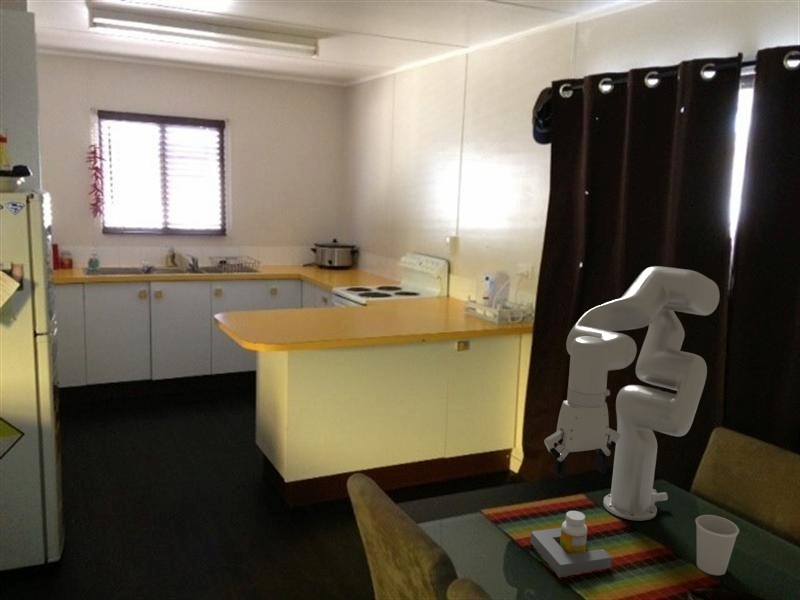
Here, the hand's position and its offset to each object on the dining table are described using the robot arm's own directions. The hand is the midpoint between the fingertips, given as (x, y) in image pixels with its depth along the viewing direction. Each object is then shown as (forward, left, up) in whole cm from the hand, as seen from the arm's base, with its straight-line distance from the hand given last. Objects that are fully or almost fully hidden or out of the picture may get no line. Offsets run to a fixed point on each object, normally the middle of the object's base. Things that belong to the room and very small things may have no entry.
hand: (579, 473), depth 140 cm
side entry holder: (+1, 0, -19) cm, 19 cm away
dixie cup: (-27, +11, -20) cm, 35 cm away
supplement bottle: (0, 0, -20) cm, 20 cm away
